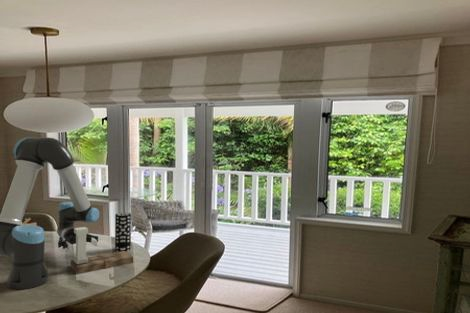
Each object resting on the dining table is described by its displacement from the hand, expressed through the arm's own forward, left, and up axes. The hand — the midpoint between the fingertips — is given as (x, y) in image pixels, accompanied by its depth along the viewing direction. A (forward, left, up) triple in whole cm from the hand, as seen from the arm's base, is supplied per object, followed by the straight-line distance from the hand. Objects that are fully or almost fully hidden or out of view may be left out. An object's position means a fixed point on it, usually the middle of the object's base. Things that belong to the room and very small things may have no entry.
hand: (83, 245), depth 160 cm
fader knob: (0, +4, -8) cm, 9 cm away
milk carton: (-16, +42, -12) cm, 47 cm away
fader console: (+10, +4, -12) cm, 16 cm away
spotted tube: (+27, +22, -12) cm, 37 cm away
